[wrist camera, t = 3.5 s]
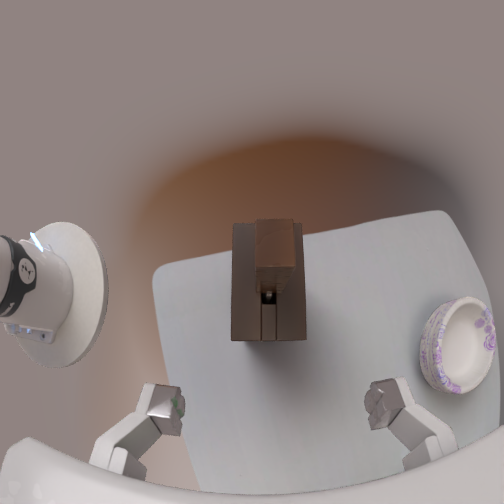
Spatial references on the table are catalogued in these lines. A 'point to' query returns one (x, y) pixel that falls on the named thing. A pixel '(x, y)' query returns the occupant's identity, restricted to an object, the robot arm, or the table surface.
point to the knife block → (252, 304)
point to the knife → (273, 255)
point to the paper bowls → (458, 345)
